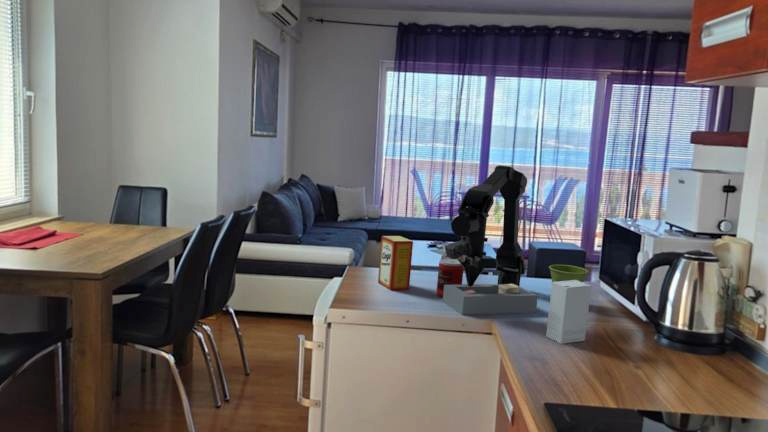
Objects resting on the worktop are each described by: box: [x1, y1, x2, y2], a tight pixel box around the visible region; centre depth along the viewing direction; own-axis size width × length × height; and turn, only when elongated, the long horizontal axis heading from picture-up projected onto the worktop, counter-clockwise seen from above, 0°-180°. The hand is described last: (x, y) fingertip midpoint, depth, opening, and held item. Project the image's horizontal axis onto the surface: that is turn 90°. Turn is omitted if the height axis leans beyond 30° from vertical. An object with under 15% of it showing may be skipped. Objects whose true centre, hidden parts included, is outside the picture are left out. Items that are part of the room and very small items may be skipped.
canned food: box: [436, 258, 465, 299], centre depth 189 cm, size 8×8×11 cm
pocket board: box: [442, 283, 539, 315], centre depth 180 cm, size 24×13×5 cm, turn 109°
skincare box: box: [545, 280, 592, 345], centre depth 154 cm, size 8×6×15 cm
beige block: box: [499, 284, 520, 295], centre depth 181 cm, size 5×4×3 cm
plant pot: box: [548, 264, 589, 283], centre depth 191 cm, size 12×12×11 cm
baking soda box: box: [377, 235, 414, 291], centre depth 195 cm, size 10×6×16 cm
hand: (469, 286), depth 177 cm, fingers closed
